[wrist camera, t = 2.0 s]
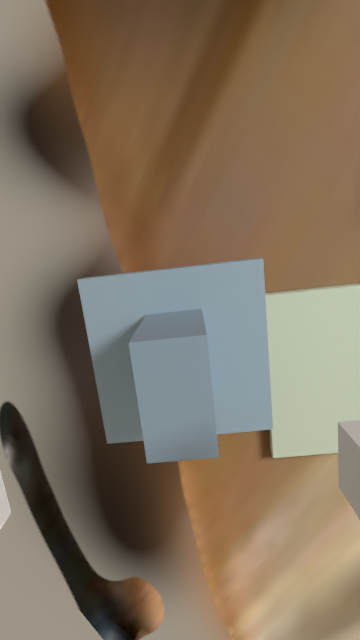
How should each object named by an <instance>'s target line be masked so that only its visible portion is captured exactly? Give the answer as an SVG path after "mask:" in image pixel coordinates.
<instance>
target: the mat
mask: <svg viewBox="0 0 360 640" xmlns="http://www.w3.org/2000/svg"><path fill="white" fill-rule="evenodd" d="M265 299H266V317H267V334H268V351H269V368H270V385H271V402H272V419H273V429H271V430H269V432H270V449H271V454H272V456H273V458H280V457H292V456H305V455H317V454H329V453H338V422H343V421H355V420H359V421H360V283H358V284H349V285H340V286H331V287H322V288H312V289H303V290H294V291H285V292H275V293H266V294H265Z"/></svg>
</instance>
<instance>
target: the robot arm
mask: <svg viewBox="0 0 360 640" xmlns="http://www.w3.org/2000/svg"><path fill="white" fill-rule="evenodd" d="M338 467H339V487H340V489H341V491H342V492H343V494H344V495H345V497H346V498H347V500H348V502H349V503H350V505H351V506H352V508H353V510H354V511H355V513H356V514H357V516H358V517H359V519H360V421H359V420H355V421H343V422H338ZM10 514H11V510H10V506H9V502H8V498H7V494H6V490H5V486H4V483H3V479H2V475H1V471H0V529H1V528H2V526H3V525H4V523H5V522H6V520H7V519H8V517H9V516H10Z"/></svg>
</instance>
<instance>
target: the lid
mask: <svg viewBox="0 0 360 640" xmlns="http://www.w3.org/2000/svg"><path fill="white" fill-rule="evenodd" d="M78 287H79V292H80V297H81V303H82V308H83V313H84V319H85V325H86V330H87V336H88V341H89V347H90V352H91V357H92V363H93V367H94V374H95V379H96V385H97V390H98V396H99V401H100V406H101V412H102V417H103V423H104V429H105V434H106V439H107V443H109V444H110V443H121V442H132V441H144V446H145V453H146V459H147V463H156V462H168V461H181V460H193V459H205V458H217V457H219V450H218V440H217V434H225V433H237V432H248V431H260V430H271V429H273V419H272V402H271V385H270V368H269V351H268V334H267V317H266V299H265V282H264V265H263V259H262V258H253V259H245V260H236V261H227V262H218V263H210V264H201V265H192V266H183V267H175V268H166V269H157V270H149V271H140V272H131V273H122V274H114V275H106V276H97V277H88V278H82V279H78Z"/></svg>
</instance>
